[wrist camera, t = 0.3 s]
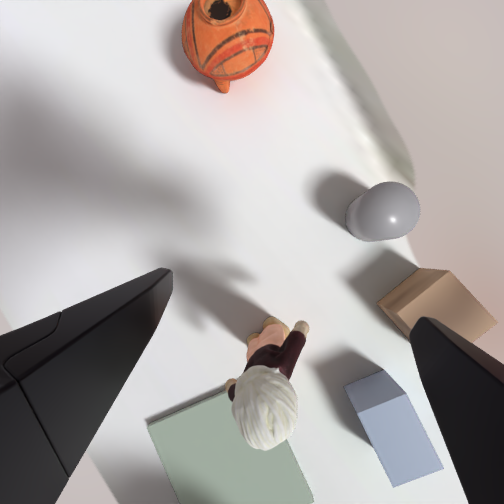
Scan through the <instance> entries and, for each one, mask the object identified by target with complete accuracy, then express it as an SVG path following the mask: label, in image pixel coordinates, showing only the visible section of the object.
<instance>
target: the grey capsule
mask: <svg viewBox="0 0 504 504" xmlns="http://www.w3.org/2000/svg"><path fill="white" fill-rule="evenodd" d="M419 216H420V204H419V201H418V198H417V197H416V195H415V193H414V192H413V191H412V190H411V189H410V188H408V187H407V186H405V185H403V184H401V183H397V182H383V183H380V184H377V185H375V186H374V187H372V188H371V189H369V190H368V191H366V192H365V193H364V194H362V195H361V196H359V197H358V198H356V199H355V200H354V201H353V202H352V203H351V204H350V205H349V207H348V209H347V211H346V216H345V221H346V225H347V228H348V230H349V231H350V233H351V234H352V235H353V236H354V237H356V238H357V239H359V240H362V241H366V242H374V241H382V240H389V239H396V238H400V237H402V236H404V235H406V234H408V233H409V232H410V231H411V230H412V229H413V228H414V227H415V225H416V224H417V222H418V219H419Z"/></svg>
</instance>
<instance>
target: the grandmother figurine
mask: <svg viewBox="0 0 504 504" xmlns="http://www.w3.org/2000/svg"><path fill="white" fill-rule="evenodd" d="M263 329H264V330H263V331H262V333H261V334H259V333H253V334H251V335H250V336H249V337H248V338H247V344H248V351H247V365H246V367H245V370H244V372H243V374H242V375H241V376H240V377H239V378H238V380H235V379H233V378H232V379H229V380H227V382H226V384H225V389H226V391H227V393H228V397H229V399H230V401H232V407H231V411H232V415H233V417H234V419H235V421H236V423H237V426H238V428H239V431H240V433H241V435H242V436H243V438H244V439H245V440H246V442H247V443H248V444H249V445H250V446H251V447H253V448H255V449H261V450H264V451H267V450H269V449H272V448H273V447H275V446H277V445H278V444H280V443H281V442H283V441H285V440H286V439H287V438H289V437H290V436H291V435H292V432H293V430H294V429H295V426H296V420H297V407H298V403H297V395H296V393H295V390H294V389H293V387H292V385H291V383H290V382H289V379H290V377H291V375H292V372H293V369H294V367H295V364H296V362H297V359H298V357H299V355H300V353H301V350H302V348H303V347H304V345H305V342H306V336H307V333H308V332H309V325H308V324H307V323H306V322H305V321H298V322H297V323H296V324H295V326H294V328H293V330H292V331H291V332H290V330H289V328H288V327H287V326H286V325H285V324H284V323H282V322H281V321H279V320H278V319H276V318H275V317H269V318H267V319H266V320H265V321H264V323H263Z"/></svg>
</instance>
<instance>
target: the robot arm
mask: <svg viewBox="0 0 504 504" xmlns="http://www.w3.org/2000/svg"><path fill="white" fill-rule="evenodd" d="M172 291H173V272H172V270H171V269H166V268H158V269H156V270H154V271H152V272H149V273H147V274H145V275H142V276H140V277H138V278H135V279H133V280H131V281H129V282H126V283H124V284H122V285H119V286H117V287H115V288H112V289H110V290H108V291H106V292H103V293H101V294H99V295H96V296H94V297H92V298H89V299H87V300H85V301H82V302H80V303H78V304H76V305H73V306H71V307H69V308H66V309H64V310H62V312H57V313H55V314H52V315H50V316H48V317H45V318H43V319H41V320H38V321H36V322H33V323H31V324H29V325H26V326H24V327H21V328H19V329H16V330H14V331H11V332H8V333H6V334H3V335H1V336H0V504H55V503H56V501H57V499H58V498H59V496H60V494H61V492H62V491H63V489H64V487H65V485H66V484H67V482H68V480H69V477H70V476H71V475H72V473H73V471H74V470H75V468H76V466H77V465H78V463H79V461H80V459H81V458H82V456H83V454H84V453H85V451H86V449H87V447H88V446H89V444H90V442H91V440H92V439H93V437H94V435H95V434H96V432H97V430H98V428H99V427H100V425H101V423H102V422H103V420H104V418H105V416H106V415H107V413H108V411H109V410H110V408H111V406H112V404H113V403H114V401H115V399H116V398H117V396H118V394H119V392H120V391H121V389H122V387H123V386H124V384H125V382H126V380H127V379H128V377H129V375H130V373H131V372H132V370H133V368H134V367H135V365H136V363H137V361H138V360H139V358H140V356H141V355H142V353H143V351H144V349H145V348H146V346H147V344H148V343H149V341H150V339H151V337H152V336H153V334H154V332H155V330H156V328H157V326H158V324H159V322H160V319H161V317H162V315H163V312H164V310H165V308H166V306H167V303H168V301H169V299H170V296H171V294H172ZM409 340H410V343H411V347H412V350H413V354H414V358H415V361H416V365H417V368H418V372H419V375H420V379H421V382H422V384H423V387H424V390H425V392H426V395H427V398H428V400H429V403H430V405H431V408H432V410H433V413H434V416H435V418H436V421H437V423H438V426H439V428H440V431H441V434H442V436H443V439H444V441H445V444H446V446H447V449H448V451H449V454H450V457H451V459H452V462H453V464H454V467H455V469H456V472H457V475H458V477H459V480H460V482H461V485H462V487H463V490H464V493H465V495H466V498H467V500H468V503H469V504H504V364H502V363H501V362H499V361H498V360H496V359H495V358H493V357H492V356H490V355H489V354H487V353H486V352H484V351H483V350H481V349H480V348H478V347H477V346H475V345H474V344H472V343H471V342H469V341H468V340H466V339H465V338H463V337H462V336H461V335H459V334H458V333H456V332H455V331H453V330H452V329H450V328H449V327H447V326H446V325H444V324H443V323H441V322H440V321H438V320H437V319H435V318H431V317H426V316H422V317H420V318H419V319H418V320H417V322H416V323H415V325H414V326H413V328H412V330H411V331H410V334H409Z"/></svg>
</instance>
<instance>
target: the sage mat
mask: <svg viewBox="0 0 504 504" xmlns="http://www.w3.org/2000/svg"><path fill="white" fill-rule="evenodd" d="M231 407H232V401H230V399H229V397H228V393H227V391H226V390H225V391H223V392H220V393H218V394H216V395H214V396H211V397H209V398H207V399H204V400H202V401H200V402H198V403H195V404H193V405H191V406H188V407H186V408H184V409H182V410H179V411H177V412H175V413H172V414H170V415H168V416H166V417H163V418H161V419H159V420H156V421H154V422H152V423H150V424H149V425H148V426H147V430H148V432H149V434H150V437H151V439H152V441H153V443H154V446H155V448H156V450H157V453H158V455H159V457H160V459H161V462H162V464H163V466H164V469H165V471H166V473H167V476H168V478H169V480H170V482H171V485H172V487H173V489H174V492H175V494H176V496H177V498H178V501H179V503H180V504H311V503H313V502H314V499H313V495H312V493H311V490H310V488H309V486H308V484H307V482H306V480H305V478H304V475H303V473H302V471H301V469H300V467H299V465H298V463H297V461H296V458H295V456H294V454H293V452H292V450H291V448H290V446H289V443H288V441H287V439H286V440H285V441H283V442H281V443H280V444H278V445H277V446H275V447H273V448H272V449H269V450H267V451H264V450H261V449H255V448H253V447H251V446H250V445H249V444H248V443H247V442H246V440H245V439H244V438H243V436H242V435H241V433H240V431H239V428H238V426H237V423H236V421H235V419H234V417H233V415H232V411H231Z"/></svg>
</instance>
